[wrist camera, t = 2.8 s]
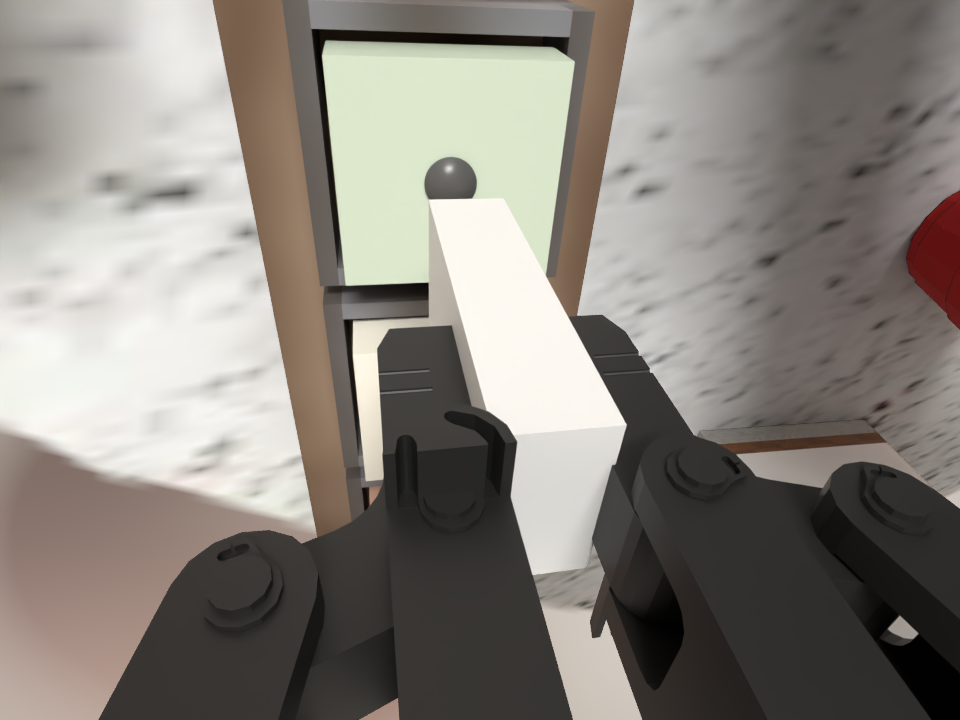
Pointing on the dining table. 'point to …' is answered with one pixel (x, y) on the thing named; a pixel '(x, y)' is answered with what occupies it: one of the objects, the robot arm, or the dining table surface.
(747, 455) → the curved tiered shelf
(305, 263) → the button panel
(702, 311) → the dining table surface
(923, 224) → the plastic cup
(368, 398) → the button three dots
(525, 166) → the button one dot
